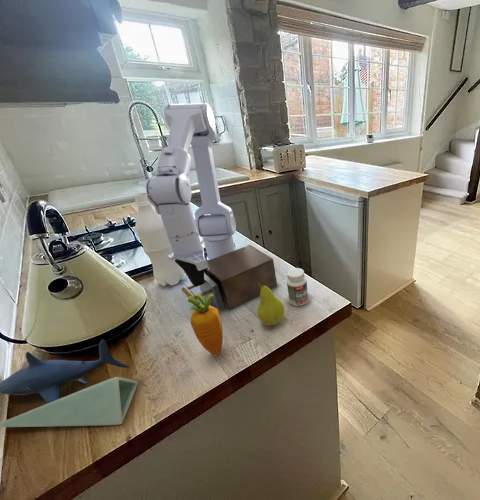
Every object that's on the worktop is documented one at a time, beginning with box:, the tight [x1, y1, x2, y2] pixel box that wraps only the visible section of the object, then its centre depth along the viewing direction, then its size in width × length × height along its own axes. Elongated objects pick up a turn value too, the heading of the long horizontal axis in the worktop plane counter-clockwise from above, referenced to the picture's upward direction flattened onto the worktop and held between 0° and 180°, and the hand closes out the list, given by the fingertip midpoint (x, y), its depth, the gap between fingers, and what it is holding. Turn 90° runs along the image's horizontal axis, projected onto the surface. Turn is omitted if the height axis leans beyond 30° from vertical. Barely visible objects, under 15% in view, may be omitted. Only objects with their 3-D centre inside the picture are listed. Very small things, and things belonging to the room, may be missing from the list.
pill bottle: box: [286, 267, 309, 307], centre depth 72 cm, size 5×5×8 cm
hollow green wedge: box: [0, 376, 139, 428], centre depth 47 cm, size 8×6×18 cm
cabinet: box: [204, 244, 278, 311], centre depth 77 cm, size 14×12×9 cm
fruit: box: [256, 282, 285, 326], centre depth 65 cm, size 6×6×12 cm
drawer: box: [181, 269, 226, 311], centre depth 74 cm, size 17×10×7 cm, turn 136°
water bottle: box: [133, 192, 185, 287], centre depth 77 cm, size 7×7×25 cm
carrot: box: [186, 293, 224, 357], centre depth 56 cm, size 5×5×15 cm
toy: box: [0, 338, 130, 404], centre depth 51 cm, size 10×22×10 cm, turn 96°
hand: (198, 284), depth 69 cm, fingers closed
